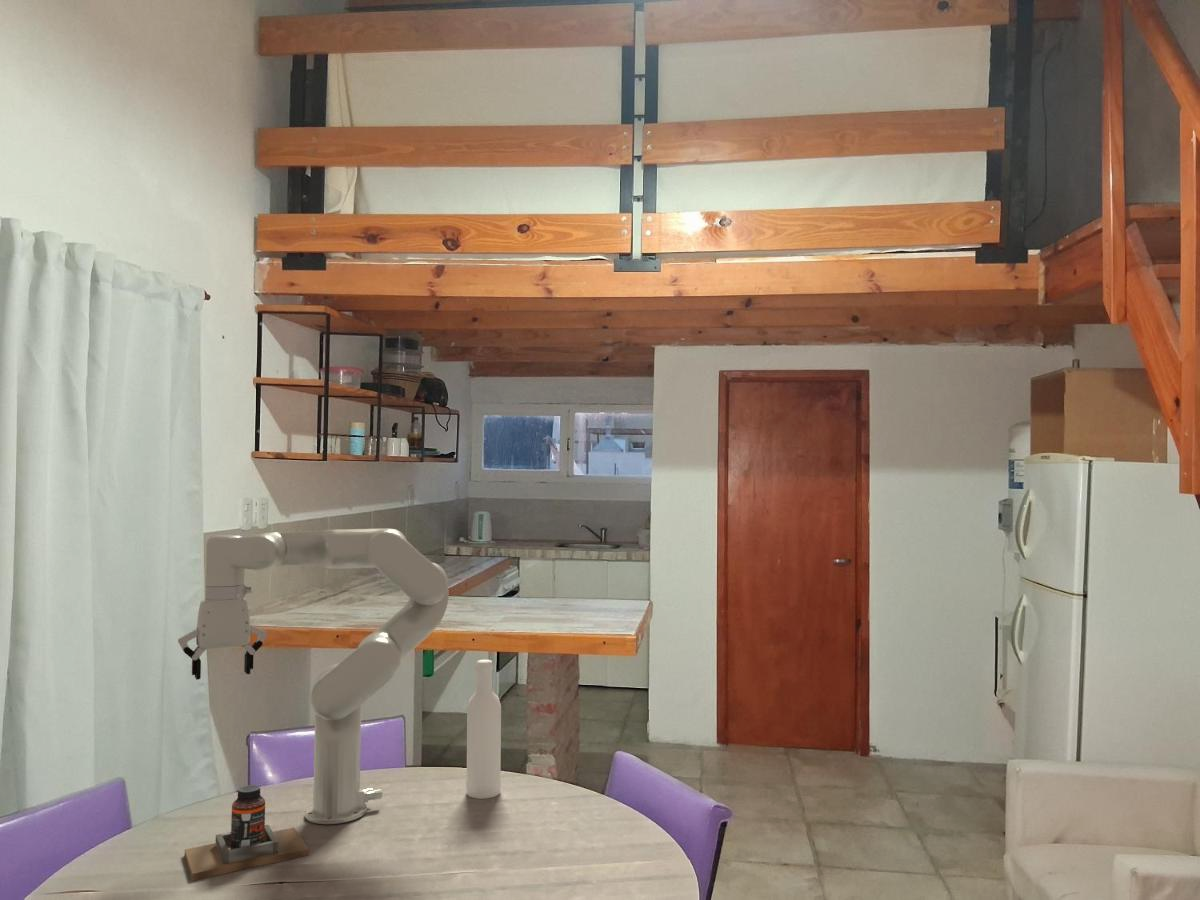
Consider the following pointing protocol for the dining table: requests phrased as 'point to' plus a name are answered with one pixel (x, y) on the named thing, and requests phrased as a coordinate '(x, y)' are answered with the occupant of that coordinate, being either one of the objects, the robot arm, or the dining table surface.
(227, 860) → the cap board
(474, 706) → the bottle
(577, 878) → the dining table surface
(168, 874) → the dining table surface
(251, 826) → the supplement bottle
